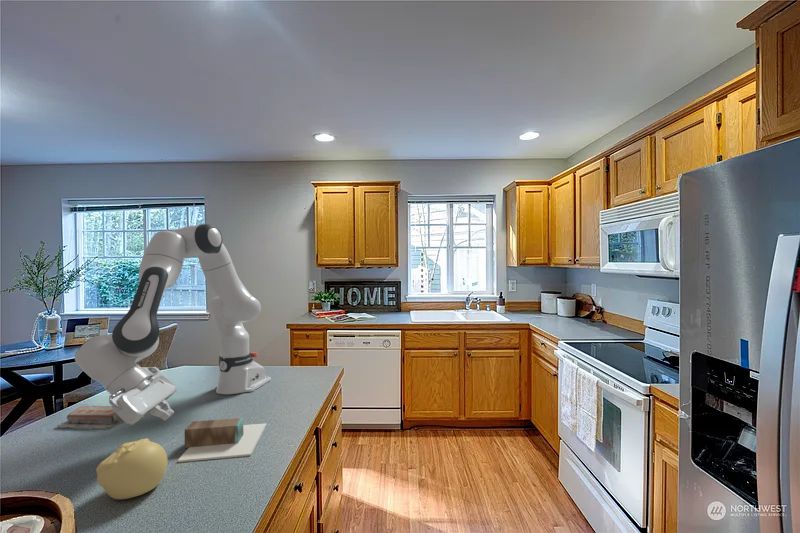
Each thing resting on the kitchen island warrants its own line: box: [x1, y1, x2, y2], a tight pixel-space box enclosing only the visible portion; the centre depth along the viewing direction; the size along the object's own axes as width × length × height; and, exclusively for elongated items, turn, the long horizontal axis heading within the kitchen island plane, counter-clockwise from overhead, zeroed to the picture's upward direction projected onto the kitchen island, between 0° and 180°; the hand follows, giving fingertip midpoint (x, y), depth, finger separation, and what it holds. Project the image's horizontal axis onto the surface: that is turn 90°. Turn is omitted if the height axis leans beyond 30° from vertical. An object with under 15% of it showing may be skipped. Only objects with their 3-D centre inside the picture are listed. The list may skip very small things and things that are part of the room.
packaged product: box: [57, 405, 125, 430], centre depth 113 cm, size 18×5×10 cm
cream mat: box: [177, 422, 267, 463], centre depth 99 cm, size 18×18×1 cm
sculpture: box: [95, 438, 169, 500], centre depth 78 cm, size 11×12×11 cm
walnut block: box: [184, 417, 244, 449], centre depth 98 cm, size 5×5×14 cm
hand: (169, 416), depth 96 cm, fingers closed
